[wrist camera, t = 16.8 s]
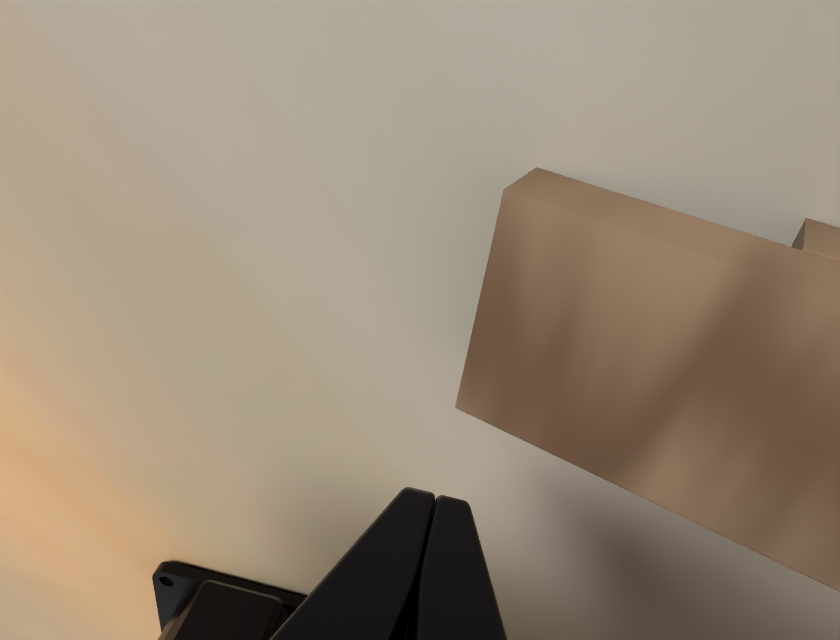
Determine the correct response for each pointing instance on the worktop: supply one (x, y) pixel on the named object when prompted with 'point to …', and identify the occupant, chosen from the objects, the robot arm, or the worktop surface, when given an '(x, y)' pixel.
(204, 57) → the worktop surface
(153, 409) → the worktop surface
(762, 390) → the domino
